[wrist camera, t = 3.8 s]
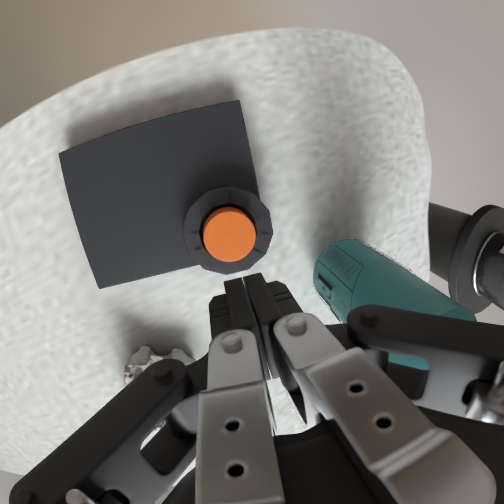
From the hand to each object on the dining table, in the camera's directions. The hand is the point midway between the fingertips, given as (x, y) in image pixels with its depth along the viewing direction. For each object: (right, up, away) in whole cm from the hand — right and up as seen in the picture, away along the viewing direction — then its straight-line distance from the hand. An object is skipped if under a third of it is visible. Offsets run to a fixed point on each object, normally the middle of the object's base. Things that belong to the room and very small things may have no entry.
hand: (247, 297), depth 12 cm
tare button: (-2, +3, +10) cm, 11 cm away
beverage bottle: (+8, +1, +16) cm, 18 cm away
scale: (-7, +6, +11) cm, 15 cm away
